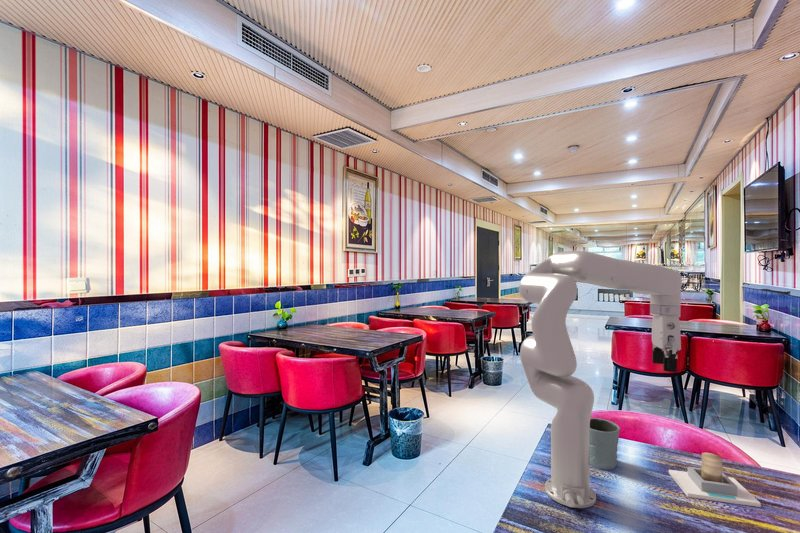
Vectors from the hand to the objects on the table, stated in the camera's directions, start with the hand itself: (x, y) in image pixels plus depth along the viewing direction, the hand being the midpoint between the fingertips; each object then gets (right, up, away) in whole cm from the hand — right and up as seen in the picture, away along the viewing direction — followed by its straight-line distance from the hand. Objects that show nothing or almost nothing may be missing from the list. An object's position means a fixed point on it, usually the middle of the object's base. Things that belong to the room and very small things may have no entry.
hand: (663, 367), depth 114 cm
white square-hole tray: (+6, -31, -10) cm, 33 cm away
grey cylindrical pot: (-17, -31, +4) cm, 36 cm away
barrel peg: (+6, -30, -10) cm, 32 cm away
